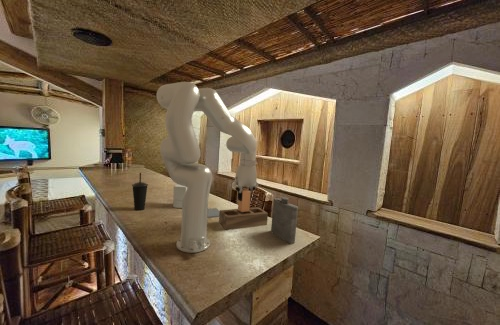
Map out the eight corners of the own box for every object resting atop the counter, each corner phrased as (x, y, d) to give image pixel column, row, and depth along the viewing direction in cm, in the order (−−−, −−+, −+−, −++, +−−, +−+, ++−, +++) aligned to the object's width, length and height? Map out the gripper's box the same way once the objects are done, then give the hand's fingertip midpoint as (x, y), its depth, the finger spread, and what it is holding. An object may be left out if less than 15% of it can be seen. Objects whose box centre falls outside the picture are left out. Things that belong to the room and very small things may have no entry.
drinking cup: (129, 211, 115) (130, 173, 112) (133, 207, 122) (134, 171, 120) (145, 211, 117) (146, 174, 114) (148, 206, 124) (149, 171, 122)
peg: (249, 211, 108) (250, 191, 108) (241, 211, 107) (243, 191, 106) (245, 208, 112) (247, 189, 111) (237, 209, 110) (239, 189, 109)
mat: (223, 216, 118) (223, 215, 118) (201, 218, 113) (201, 217, 113) (216, 209, 129) (216, 208, 129) (195, 210, 123) (195, 209, 123)
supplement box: (189, 205, 133) (190, 184, 131) (185, 208, 125) (186, 187, 124) (178, 203, 133) (178, 183, 132) (172, 207, 126) (173, 185, 125)
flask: (289, 244, 92) (293, 202, 90) (268, 231, 103) (271, 193, 101) (296, 243, 94) (300, 201, 92) (274, 230, 105) (277, 193, 103)
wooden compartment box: (266, 224, 111) (267, 213, 111) (226, 230, 101) (227, 217, 100) (257, 217, 120) (258, 207, 119) (218, 222, 110) (219, 210, 109)
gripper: (258, 162, 114) (255, 197, 116) (228, 161, 107) (225, 198, 108) (266, 164, 108) (262, 201, 109) (234, 163, 100) (231, 203, 102)
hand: (244, 199), depth 109 cm, fingers closed on peg, 4 cm apart
